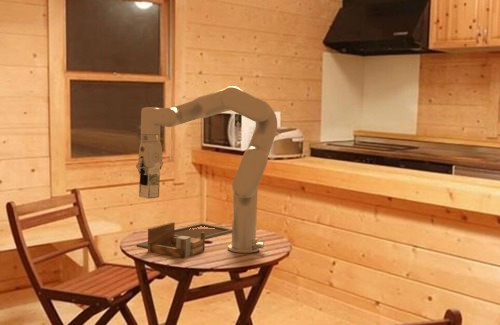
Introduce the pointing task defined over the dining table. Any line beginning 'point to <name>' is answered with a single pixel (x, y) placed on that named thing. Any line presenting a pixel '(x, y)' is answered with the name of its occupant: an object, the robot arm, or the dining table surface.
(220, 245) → the dining table surface
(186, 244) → the offcut block
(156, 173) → the syrup box
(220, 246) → the dining table surface
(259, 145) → the robot arm
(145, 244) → the mat
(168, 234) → the brown wooden open box
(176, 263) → the dining table surface
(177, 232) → the brown framed board
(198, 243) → the offcut slab
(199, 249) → the offcut slab
